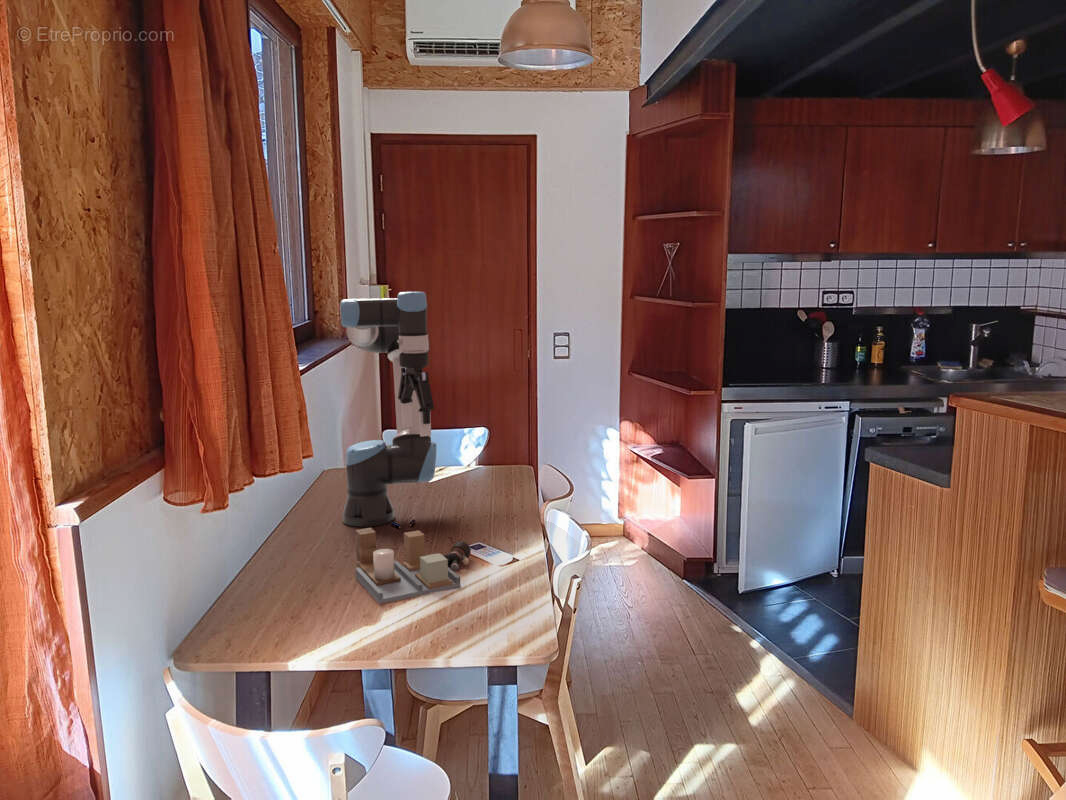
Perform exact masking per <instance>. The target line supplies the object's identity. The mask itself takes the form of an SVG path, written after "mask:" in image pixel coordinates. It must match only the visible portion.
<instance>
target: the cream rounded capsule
mask: <svg viewBox="0 0 1066 800" xmlns="http://www.w3.org/2000/svg"><path fill="white" fill-rule="evenodd" d="M373 559H374V578H375V579H378V580H388V579H391V578H393V577H394V576H395V574H394V561H395V551H394V550H393V549H390V548H380V549H376V551H374V552H373Z"/></svg>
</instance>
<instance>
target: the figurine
mask: <svg viewBox="0 0 1066 800" xmlns="http://www.w3.org/2000/svg"><path fill="white" fill-rule="evenodd" d="M471 551H472V549H471V547H470V545H469V544H468V543H467V542H466V541H462V540H461V541H456V542H455V543H454V544H453V545H452V546H451V549H450V552H448V553H443V554H442V555H443V556H444V557H445V558H446V559H448V567H449V568H450V569H451V570H452V571H454V572H455V571H457V572H458V571H459V569H460V564H461V563H463V564H462V565H465V566H467V565H468V564H469V563H470V559H469V557H470V555H471V554H472V552H471Z"/></svg>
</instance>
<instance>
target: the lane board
mask: <svg viewBox="0 0 1066 800" xmlns="http://www.w3.org/2000/svg"><path fill="white" fill-rule="evenodd" d="M425 539H426V538H425V534H424V533H423V532H422V531H420V530H419V529H418V530H413V531H408V532H403V546H404V547H403V550H404V561H403V562H402V563H400V562H399V561H398V560H394V572H395V573H396V574H397V575H398V576H399V577H400V578H401V581H399V582H394V583H389V584H384V585H379V586H376V585H375V584H374V583H373V582H372V580H371V579H370V578H369V577H368V576H367V575H366V574H365V573H364V572H363V571H362V570H361V569H360V568H359V567H355V570H354V572H355V578H356V580H357V581H358V582H359V583H360V585H361V586H363V588H364V589H365V590H366V591H367V593H369V595H370V596H371V597H372V598H373V600H375V602H377V603H378V605H380V604H381V605H382V604H386V603H390V602H396V601H399V600H404V599H410V598H414V597H419V596H424V595H429V594H434V593H439V592H443V591H448V590H453V589H457V588H461V586H462V585H461V576H460V575H459V574H457V573H456V572H455V570H452V568H451V567H450V566H449V567H448V580H444V581H439V582H434V583H429V584H428V583H427V582H426V581H425V580H424V579H423V578H421V573H420V557H421V556H426V541H425ZM432 554H433V553H430V554H428V555H432Z"/></svg>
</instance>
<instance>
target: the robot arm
mask: <svg viewBox="0 0 1066 800" xmlns="http://www.w3.org/2000/svg"><path fill="white" fill-rule="evenodd" d="M339 307H340V324H341V327H343V328H346V337H347V339H348V340H349V342H350V343H351V344H352V345H353V346H354V347H356V348H357V349H360V350H361V351H365V352H369V353H374V354H375V353H376V354H380V353H381V354H384V353H385V354H387V359H388V360H389V361H390V362H392V369H393V370H392V371H393V385H394V387H393V389H394V401H395V403H394V405H395V417H396V418H395V420H396V421H395V422H396V435H395V436H394V437H393V438H392V440H391V441H392V444H390V445H387V443H386V442H385V440H383V439H372V440H366V441H361V442H358V443H355V444H353V445H350V446H349V447H348V448H347V449H346V453H345V462H344V463H345V466H346V483H347V484H346V486H347V490H346V491H347V496H346V499H345V500H346V501H345V504H344V508H343V511H342V522H343V523H344V524H345V525H347V526H352V527H358V528H359V527H360V528H363V527H365V528H369V527H375V526H382V525H385V524H388V523H391V522H392V521H393V520H394V519H395V510H394V507H393V504H392V501H391V499H390V497H389V494H388V485H399V484H400V485H401V484H414V483H415V484H416V483H417V484H420V483H425V482H427V483H429V482H430V481H432V480H433V479H434V478H435V472H436V464H437V462H436V461H437V442H433V441H432V437H431V436H432V423H431V422H432V420H431V418H432V417H431V411H433V410H434V409H435V405H434V401H433V395H432V390H431V385H430V381H429V380H430V378H429V373H428V371H426V372H425V371H424V370H423V368H424V367H425V368H426V367H428V366H429V365H430V364H429V361H430V360H429V352H428V351H429V350H430V341H429V332H428V302H427V294H426V292H424V291H400V292H399V293H398V294H397V297H394V298H393V297H388V298H387V297H386V298H385V297H384V298H348V299H346V298H345V299H341V301H340V306H339Z"/></svg>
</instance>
